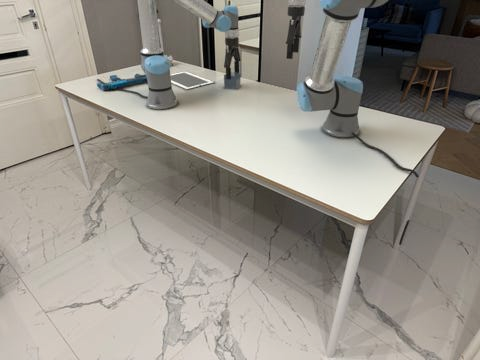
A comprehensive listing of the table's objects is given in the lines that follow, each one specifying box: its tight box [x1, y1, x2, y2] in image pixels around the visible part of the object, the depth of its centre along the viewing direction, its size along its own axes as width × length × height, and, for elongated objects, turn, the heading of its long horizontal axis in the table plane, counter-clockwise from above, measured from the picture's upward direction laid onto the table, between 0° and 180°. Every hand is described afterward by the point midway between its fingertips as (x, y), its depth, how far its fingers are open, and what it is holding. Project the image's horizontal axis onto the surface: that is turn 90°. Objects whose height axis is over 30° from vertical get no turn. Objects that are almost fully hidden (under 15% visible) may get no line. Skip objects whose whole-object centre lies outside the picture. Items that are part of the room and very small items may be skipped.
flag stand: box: [157, 18, 174, 67], centre depth 235 cm, size 13×13×30 cm
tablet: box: [170, 70, 215, 90], centre depth 212 cm, size 32×20×1 cm, turn 41°
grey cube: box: [223, 71, 242, 90], centre depth 199 cm, size 8×7×8 cm
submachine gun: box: [96, 73, 148, 91], centre depth 208 cm, size 34×4×25 cm
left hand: (232, 75), depth 198 cm, fingers open, 13 cm apart
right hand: (292, 55), depth 163 cm, fingers open, 13 cm apart
